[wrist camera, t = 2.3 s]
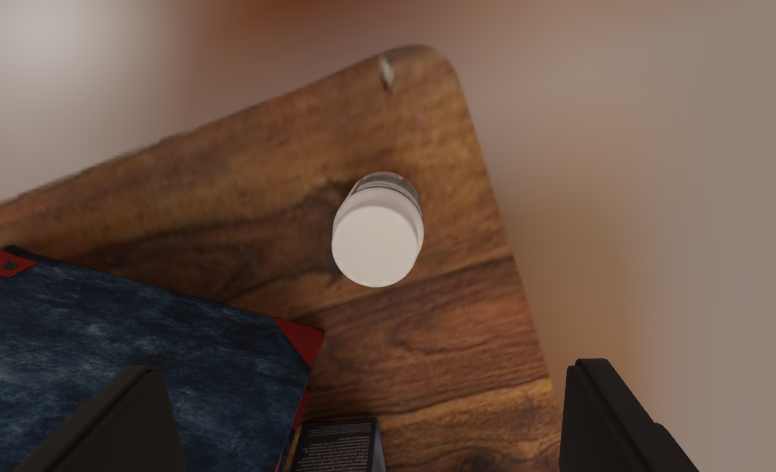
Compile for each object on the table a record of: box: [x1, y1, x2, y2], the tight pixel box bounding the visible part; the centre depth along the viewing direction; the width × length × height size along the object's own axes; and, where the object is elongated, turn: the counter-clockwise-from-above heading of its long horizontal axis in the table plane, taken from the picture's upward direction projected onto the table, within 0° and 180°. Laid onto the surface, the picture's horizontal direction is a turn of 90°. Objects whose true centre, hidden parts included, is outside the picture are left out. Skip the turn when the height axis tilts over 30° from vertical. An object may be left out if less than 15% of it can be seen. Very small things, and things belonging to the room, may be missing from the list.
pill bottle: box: [332, 171, 424, 287], centre depth 23 cm, size 5×5×8 cm
